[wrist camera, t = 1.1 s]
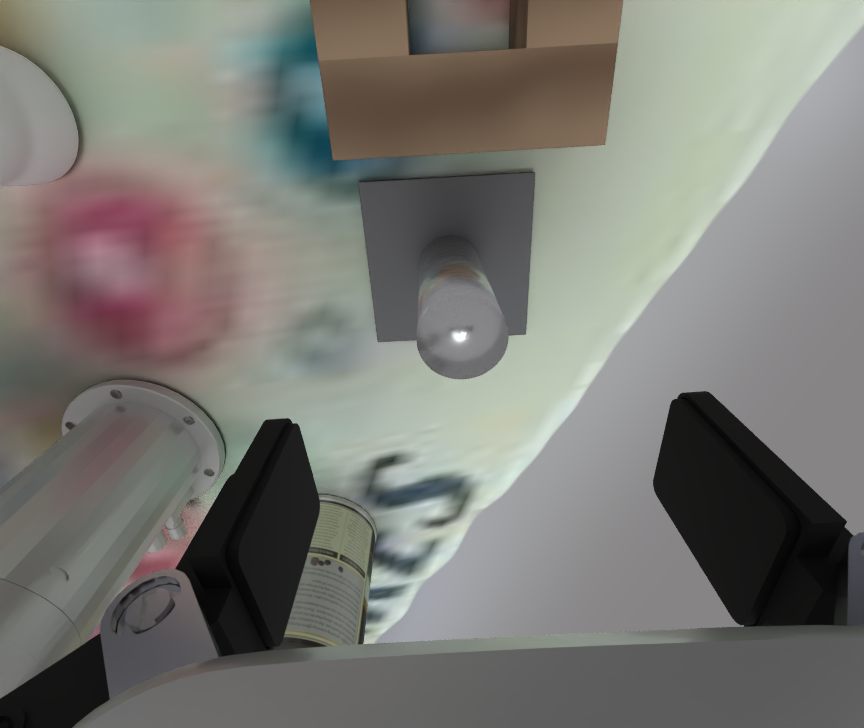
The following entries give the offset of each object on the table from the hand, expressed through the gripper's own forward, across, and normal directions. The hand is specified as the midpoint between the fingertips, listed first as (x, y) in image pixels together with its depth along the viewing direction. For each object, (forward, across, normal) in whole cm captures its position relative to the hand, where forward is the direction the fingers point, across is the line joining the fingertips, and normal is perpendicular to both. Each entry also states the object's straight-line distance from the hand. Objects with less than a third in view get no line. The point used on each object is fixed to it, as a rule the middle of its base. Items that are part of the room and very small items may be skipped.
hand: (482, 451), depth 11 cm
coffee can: (+21, +14, +26) cm, 37 cm away
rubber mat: (+21, 0, +1) cm, 21 cm away
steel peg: (+20, 0, +1) cm, 20 cm away
